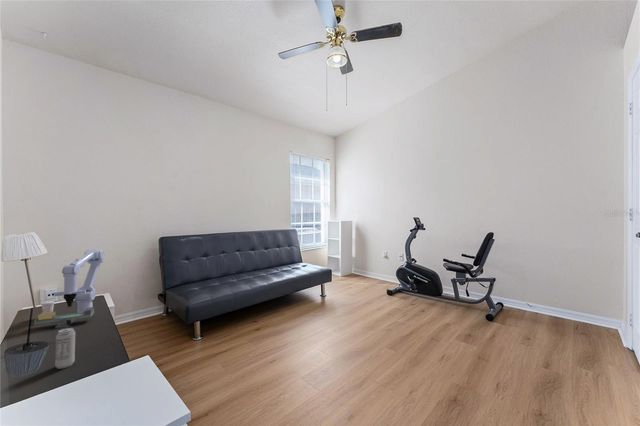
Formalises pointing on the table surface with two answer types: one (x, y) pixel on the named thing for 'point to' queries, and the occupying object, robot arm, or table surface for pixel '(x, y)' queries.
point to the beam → (68, 316)
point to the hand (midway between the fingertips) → (69, 306)
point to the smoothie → (47, 306)
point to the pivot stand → (64, 323)
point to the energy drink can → (65, 348)
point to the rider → (46, 316)
